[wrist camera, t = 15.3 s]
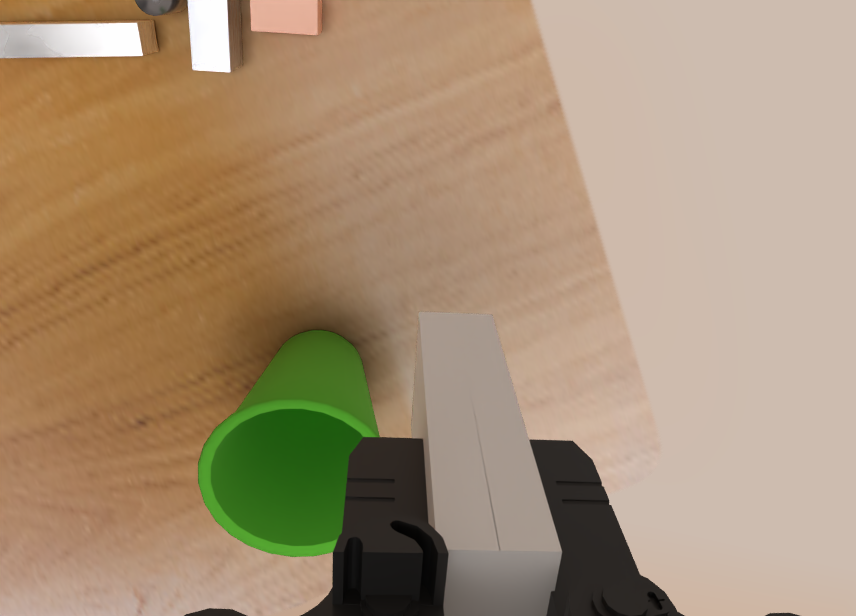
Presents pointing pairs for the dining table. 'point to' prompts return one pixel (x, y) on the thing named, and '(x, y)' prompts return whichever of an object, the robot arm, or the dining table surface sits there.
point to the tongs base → (207, 30)
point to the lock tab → (287, 16)
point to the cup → (290, 448)
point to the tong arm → (77, 39)
